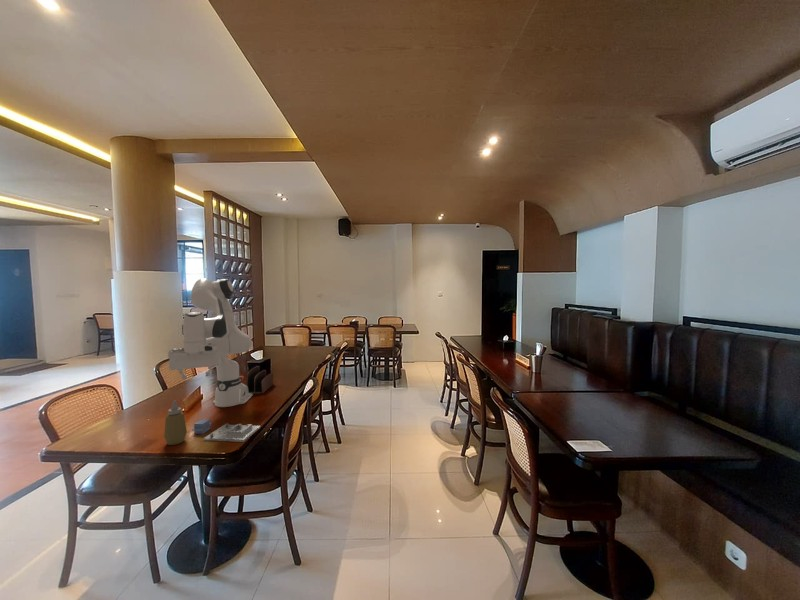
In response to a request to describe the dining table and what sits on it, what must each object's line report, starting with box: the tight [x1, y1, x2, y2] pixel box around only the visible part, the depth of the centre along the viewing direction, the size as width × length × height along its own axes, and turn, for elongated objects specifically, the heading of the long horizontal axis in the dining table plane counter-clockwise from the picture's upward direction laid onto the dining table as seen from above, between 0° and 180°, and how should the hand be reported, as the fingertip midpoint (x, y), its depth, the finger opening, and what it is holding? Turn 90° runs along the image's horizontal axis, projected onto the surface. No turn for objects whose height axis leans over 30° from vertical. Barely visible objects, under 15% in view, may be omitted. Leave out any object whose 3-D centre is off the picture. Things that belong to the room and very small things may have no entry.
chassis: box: [203, 422, 261, 443], centre depth 149 cm, size 14×18×3 cm
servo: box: [192, 418, 212, 435], centre depth 152 cm, size 8×4×4 cm, turn 175°
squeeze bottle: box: [163, 400, 188, 446], centre depth 141 cm, size 8×8×18 cm
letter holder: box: [245, 365, 274, 395], centre depth 214 cm, size 10×20×14 cm, turn 2°
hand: (195, 377), depth 152 cm, fingers open, 8 cm apart
